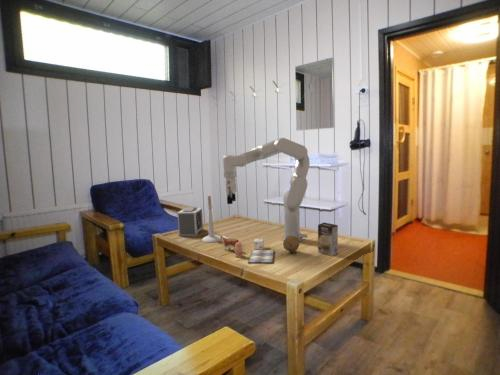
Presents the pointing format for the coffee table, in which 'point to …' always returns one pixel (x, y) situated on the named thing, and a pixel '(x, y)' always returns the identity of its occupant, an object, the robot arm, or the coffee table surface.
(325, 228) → the coffee box
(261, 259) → the board
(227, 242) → the bull figurine
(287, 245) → the natural sponge
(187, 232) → the alarm clock
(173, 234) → the coffee table surface
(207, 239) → the candlestick
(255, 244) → the die
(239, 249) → the pawn
